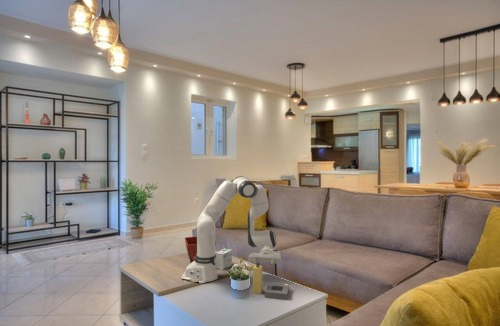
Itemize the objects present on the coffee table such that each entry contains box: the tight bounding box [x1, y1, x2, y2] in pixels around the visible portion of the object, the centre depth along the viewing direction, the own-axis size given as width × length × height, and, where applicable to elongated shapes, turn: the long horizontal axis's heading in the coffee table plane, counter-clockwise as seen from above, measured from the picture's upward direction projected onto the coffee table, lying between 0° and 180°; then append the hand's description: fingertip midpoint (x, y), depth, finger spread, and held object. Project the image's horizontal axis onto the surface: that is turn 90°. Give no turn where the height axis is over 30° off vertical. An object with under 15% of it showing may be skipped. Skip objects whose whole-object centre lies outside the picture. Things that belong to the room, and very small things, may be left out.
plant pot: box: [184, 235, 217, 264], centre depth 221 cm, size 19×19×17 cm
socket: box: [264, 282, 290, 301], centre depth 175 cm, size 12×12×4 cm
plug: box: [252, 262, 263, 294], centre depth 177 cm, size 4×4×16 cm
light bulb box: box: [215, 247, 233, 270], centre depth 215 cm, size 11×7×11 cm, turn 149°
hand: (262, 262), depth 189 cm, fingers open, 8 cm apart
